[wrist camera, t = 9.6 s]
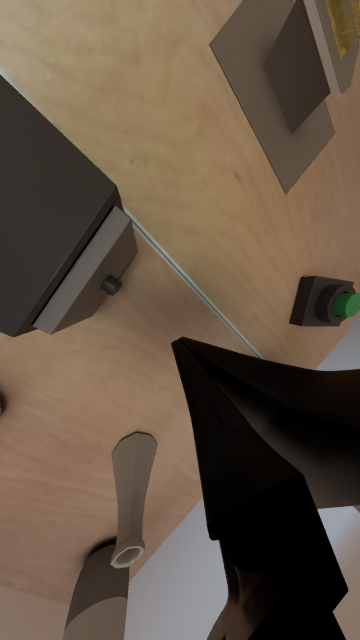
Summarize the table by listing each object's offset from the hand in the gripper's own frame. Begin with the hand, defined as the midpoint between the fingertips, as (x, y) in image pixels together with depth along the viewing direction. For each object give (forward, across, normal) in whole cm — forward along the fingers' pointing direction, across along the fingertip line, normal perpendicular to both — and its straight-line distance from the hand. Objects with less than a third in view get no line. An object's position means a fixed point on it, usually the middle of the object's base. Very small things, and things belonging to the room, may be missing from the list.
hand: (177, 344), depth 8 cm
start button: (-1, -32, +10) cm, 33 cm away
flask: (+7, +10, +24) cm, 28 cm away
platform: (+12, -28, -18) cm, 35 cm away
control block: (+2, -32, +11) cm, 34 cm away
